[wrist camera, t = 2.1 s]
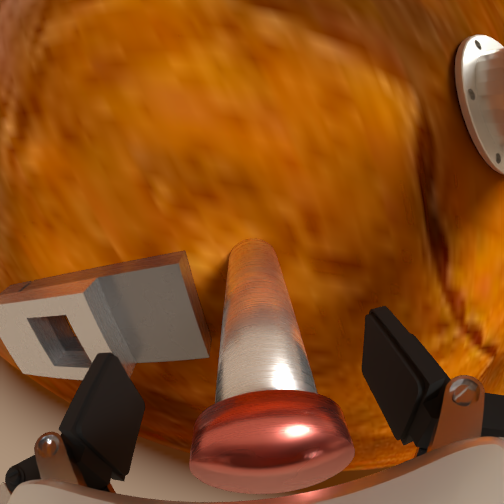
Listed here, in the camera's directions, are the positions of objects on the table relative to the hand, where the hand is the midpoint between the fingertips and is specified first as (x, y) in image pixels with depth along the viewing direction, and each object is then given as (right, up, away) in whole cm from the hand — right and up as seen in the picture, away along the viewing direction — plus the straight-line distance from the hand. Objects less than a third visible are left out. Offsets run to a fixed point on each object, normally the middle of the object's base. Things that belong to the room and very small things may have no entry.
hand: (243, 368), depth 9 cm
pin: (0, +4, +8) cm, 9 cm away
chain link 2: (-10, 0, +9) cm, 14 cm away
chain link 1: (-15, -1, +9) cm, 18 cm away
